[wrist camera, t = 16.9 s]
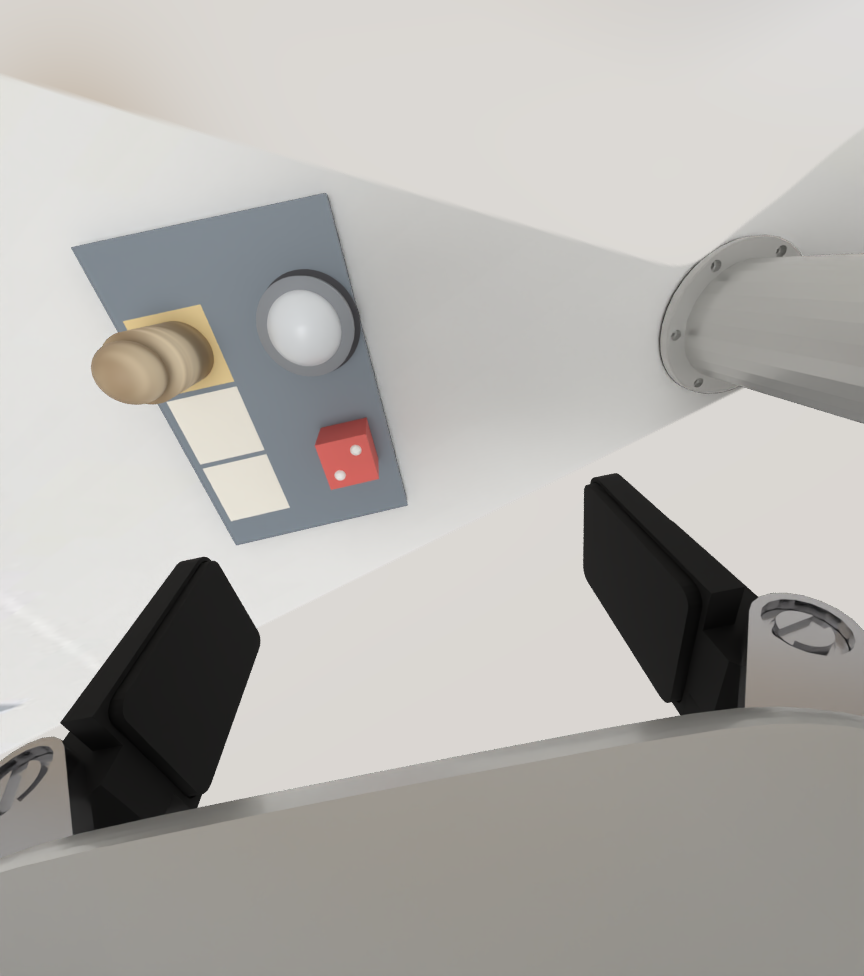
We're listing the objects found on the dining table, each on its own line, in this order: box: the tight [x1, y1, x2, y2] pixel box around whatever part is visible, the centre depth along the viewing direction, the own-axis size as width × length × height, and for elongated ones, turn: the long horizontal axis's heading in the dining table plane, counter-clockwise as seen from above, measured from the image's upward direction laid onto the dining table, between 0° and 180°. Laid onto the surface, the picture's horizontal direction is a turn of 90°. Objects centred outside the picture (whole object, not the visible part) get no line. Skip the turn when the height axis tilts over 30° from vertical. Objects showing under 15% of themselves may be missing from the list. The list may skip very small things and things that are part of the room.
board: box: [71, 193, 408, 545], centre depth 31 cm, size 17×25×6 cm
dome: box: [256, 276, 355, 376], centre depth 27 cm, size 6×6×5 cm
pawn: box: [91, 321, 214, 405], centre depth 25 cm, size 4×4×9 cm
